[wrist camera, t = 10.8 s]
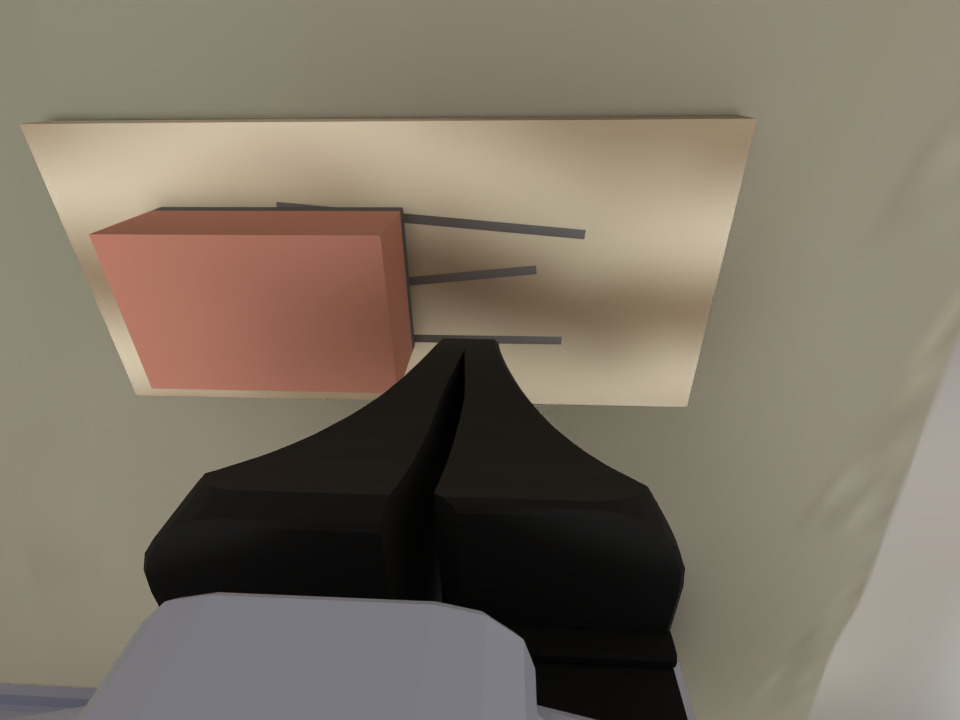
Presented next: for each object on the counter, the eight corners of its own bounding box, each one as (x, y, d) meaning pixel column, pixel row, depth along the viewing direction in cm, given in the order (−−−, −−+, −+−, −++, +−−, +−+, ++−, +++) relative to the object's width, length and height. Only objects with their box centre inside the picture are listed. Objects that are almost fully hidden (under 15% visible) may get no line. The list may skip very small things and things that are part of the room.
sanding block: (414, 345, 18) (398, 393, 15) (204, 342, 19) (151, 388, 16) (402, 207, 16) (380, 235, 13) (160, 206, 16) (88, 234, 13)
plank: (677, 389, 20) (687, 407, 19) (154, 379, 21) (136, 395, 20) (739, 115, 15) (757, 118, 14) (50, 120, 16) (19, 123, 15)
